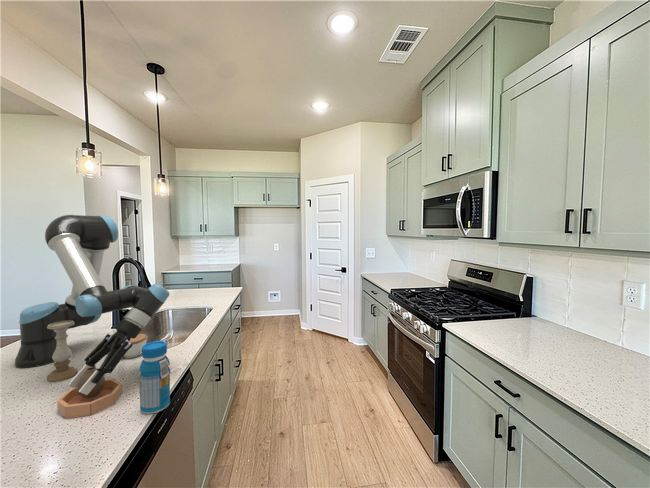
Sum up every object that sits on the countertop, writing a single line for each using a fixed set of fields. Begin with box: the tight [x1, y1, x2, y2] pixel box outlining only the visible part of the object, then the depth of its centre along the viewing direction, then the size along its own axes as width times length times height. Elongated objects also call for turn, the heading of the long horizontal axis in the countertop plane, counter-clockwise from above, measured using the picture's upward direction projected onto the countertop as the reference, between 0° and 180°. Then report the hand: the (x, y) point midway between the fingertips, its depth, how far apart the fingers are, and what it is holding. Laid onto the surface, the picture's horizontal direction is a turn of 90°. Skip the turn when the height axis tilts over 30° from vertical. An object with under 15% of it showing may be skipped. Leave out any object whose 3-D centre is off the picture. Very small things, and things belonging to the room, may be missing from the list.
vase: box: [77, 366, 106, 398], centre depth 91 cm, size 7×7×9 cm
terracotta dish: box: [56, 378, 123, 419], centre depth 91 cm, size 15×15×4 cm
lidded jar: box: [123, 333, 147, 359], centre depth 126 cm, size 11×11×9 cm
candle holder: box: [46, 321, 79, 383], centre depth 107 cm, size 9×9×20 cm
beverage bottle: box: [138, 340, 171, 415], centre depth 89 cm, size 8×8×20 cm
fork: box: [170, 358, 191, 374], centre depth 110 cm, size 3×20×2 cm, turn 162°
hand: (77, 389), depth 88 cm, fingers closed on vase, 7 cm apart
